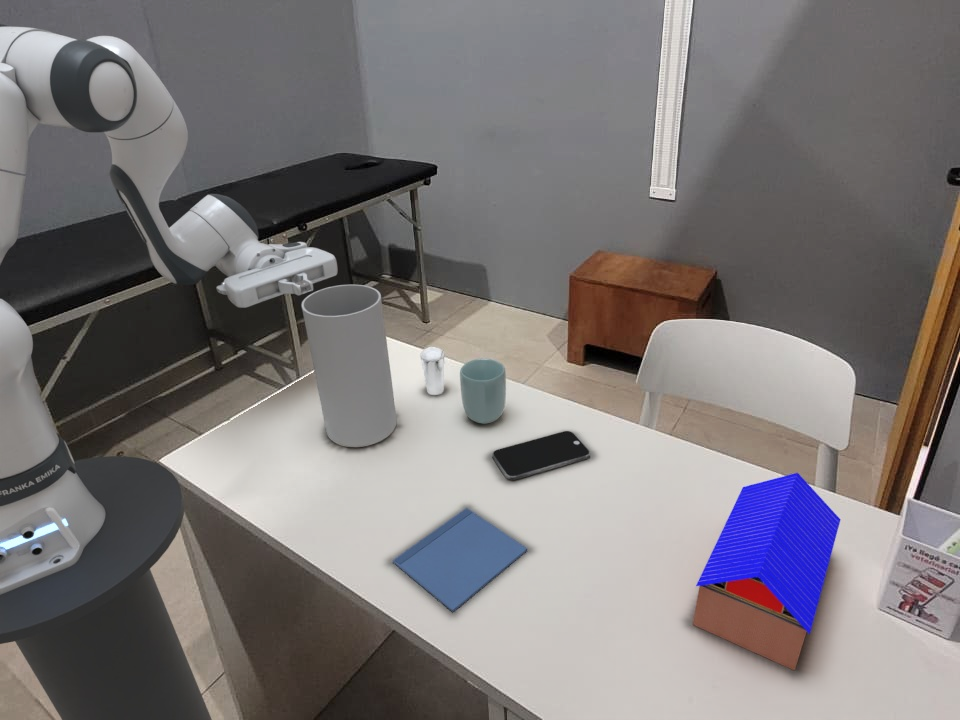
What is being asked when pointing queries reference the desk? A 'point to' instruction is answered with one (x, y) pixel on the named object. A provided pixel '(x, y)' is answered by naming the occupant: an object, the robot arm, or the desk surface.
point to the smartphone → (540, 455)
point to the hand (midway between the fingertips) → (305, 288)
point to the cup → (483, 389)
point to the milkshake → (433, 369)
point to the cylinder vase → (351, 363)
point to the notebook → (459, 558)
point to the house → (768, 569)
